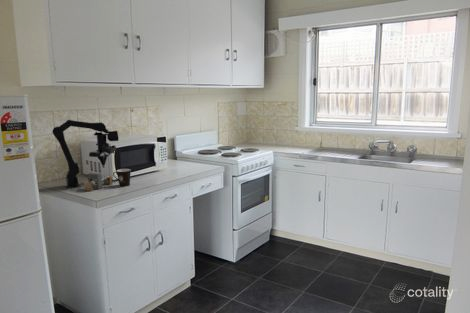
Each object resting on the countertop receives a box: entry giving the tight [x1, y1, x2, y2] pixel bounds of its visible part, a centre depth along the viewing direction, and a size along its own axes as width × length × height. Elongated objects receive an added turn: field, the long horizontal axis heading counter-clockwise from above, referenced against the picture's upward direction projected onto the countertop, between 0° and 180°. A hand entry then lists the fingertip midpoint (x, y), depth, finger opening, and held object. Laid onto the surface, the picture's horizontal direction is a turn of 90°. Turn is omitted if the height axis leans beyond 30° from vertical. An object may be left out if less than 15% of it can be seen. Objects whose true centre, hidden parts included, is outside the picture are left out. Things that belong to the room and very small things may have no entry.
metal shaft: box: [83, 175, 113, 192], centre depth 230 cm, size 19×5×5 cm, turn 158°
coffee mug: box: [112, 168, 132, 188], centre depth 235 cm, size 12×9×10 cm
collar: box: [87, 172, 103, 190], centre depth 227 cm, size 3×8×9 cm, turn 68°
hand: (103, 165), depth 239 cm, fingers closed
